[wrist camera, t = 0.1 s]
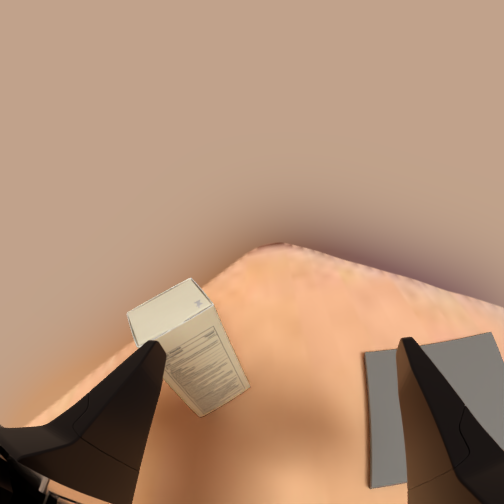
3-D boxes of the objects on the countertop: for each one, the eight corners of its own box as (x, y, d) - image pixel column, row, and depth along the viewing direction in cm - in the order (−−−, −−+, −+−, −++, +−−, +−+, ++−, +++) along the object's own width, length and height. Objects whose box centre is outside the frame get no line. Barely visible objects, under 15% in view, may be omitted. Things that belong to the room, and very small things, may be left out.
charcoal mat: (520, 441, 10) (524, 438, 10) (369, 488, 14) (371, 487, 14) (488, 336, 22) (491, 331, 21) (364, 356, 25) (365, 352, 25)
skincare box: (230, 361, 29) (194, 273, 22) (252, 388, 25) (219, 301, 19) (179, 390, 26) (123, 310, 20) (197, 420, 23) (135, 346, 16)
